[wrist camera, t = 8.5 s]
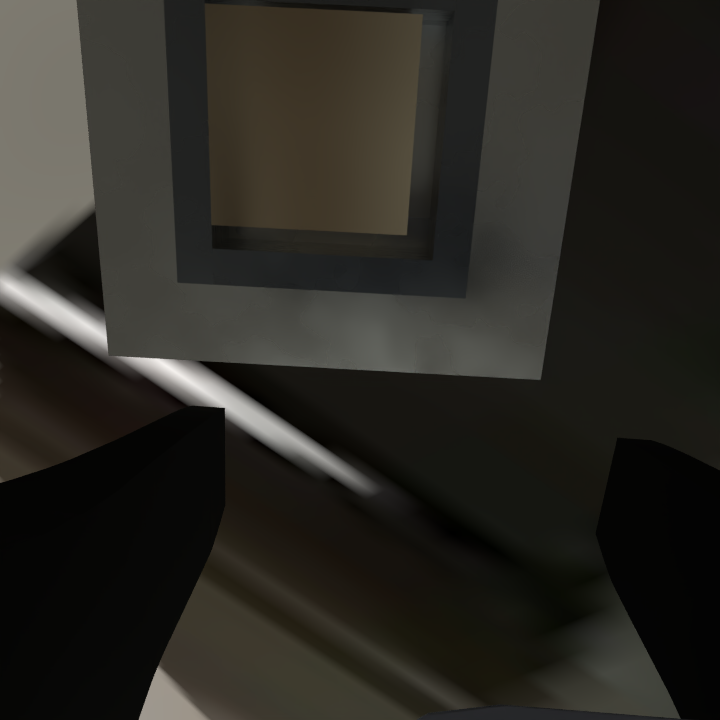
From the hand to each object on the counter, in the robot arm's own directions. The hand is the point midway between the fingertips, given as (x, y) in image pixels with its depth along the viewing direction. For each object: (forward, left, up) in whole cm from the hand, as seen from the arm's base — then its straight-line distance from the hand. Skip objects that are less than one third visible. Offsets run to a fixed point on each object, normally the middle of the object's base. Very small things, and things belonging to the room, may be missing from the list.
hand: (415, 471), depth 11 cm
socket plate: (+2, -6, -9) cm, 11 cm away
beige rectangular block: (+2, -6, -9) cm, 11 cm away
